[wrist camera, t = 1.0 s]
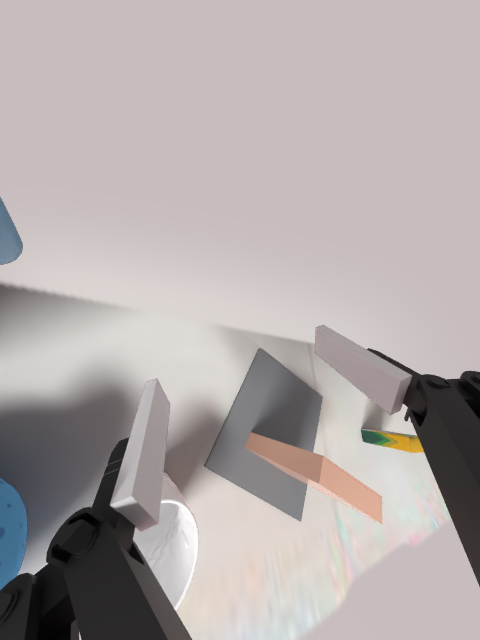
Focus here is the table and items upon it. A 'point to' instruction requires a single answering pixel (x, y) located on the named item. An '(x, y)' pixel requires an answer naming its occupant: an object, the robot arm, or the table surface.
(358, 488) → the tile
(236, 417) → the mat
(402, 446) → the crayon box
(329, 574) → the table surface
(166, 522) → the white cup
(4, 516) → the educational model
